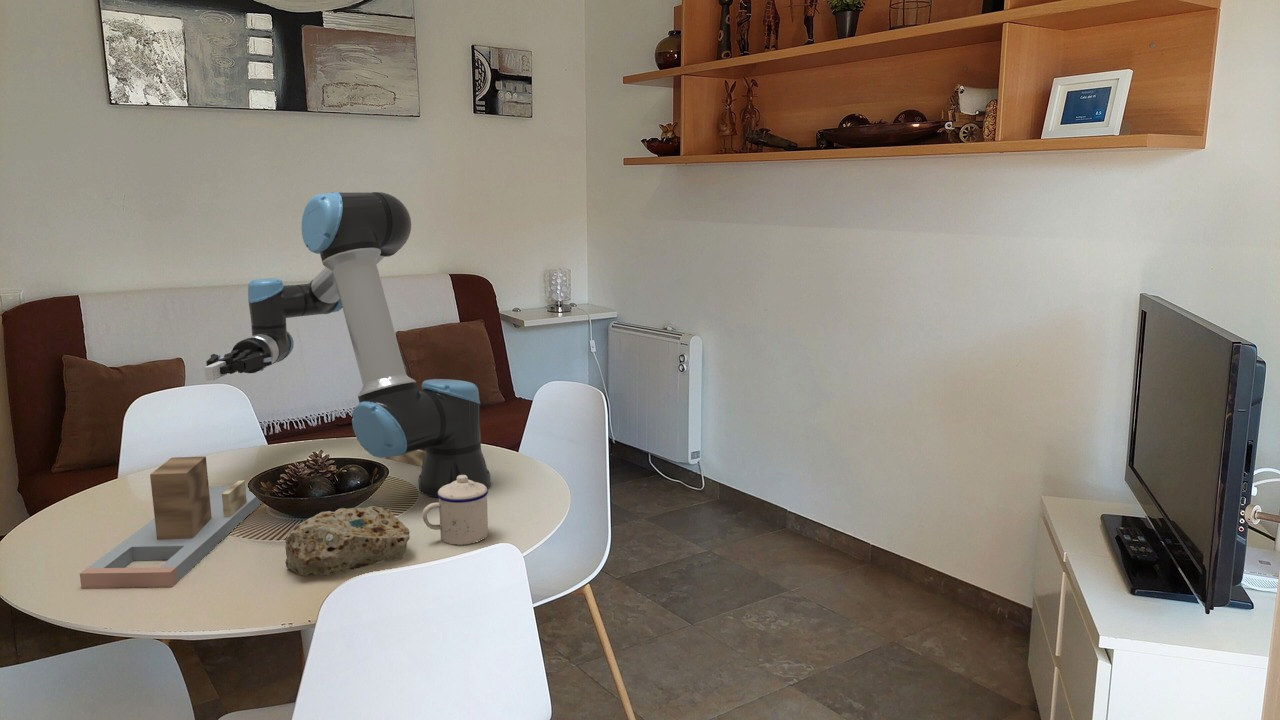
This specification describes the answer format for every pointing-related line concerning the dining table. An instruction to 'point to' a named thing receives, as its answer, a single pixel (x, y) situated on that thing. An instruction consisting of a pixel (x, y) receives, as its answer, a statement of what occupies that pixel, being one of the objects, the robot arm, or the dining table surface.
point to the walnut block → (181, 497)
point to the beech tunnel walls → (234, 498)
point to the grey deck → (165, 550)
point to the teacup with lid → (461, 511)
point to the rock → (345, 540)
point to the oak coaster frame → (410, 457)
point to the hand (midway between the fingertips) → (209, 373)
